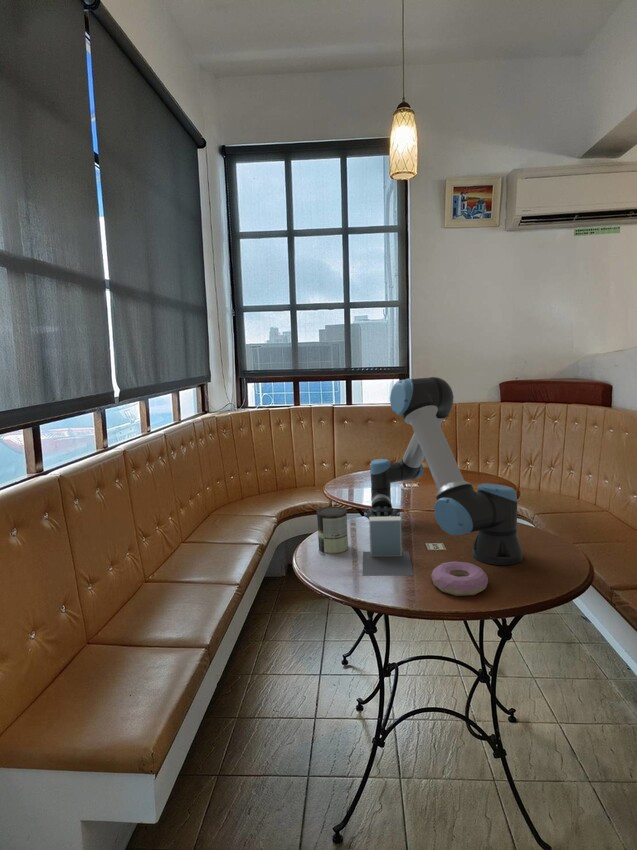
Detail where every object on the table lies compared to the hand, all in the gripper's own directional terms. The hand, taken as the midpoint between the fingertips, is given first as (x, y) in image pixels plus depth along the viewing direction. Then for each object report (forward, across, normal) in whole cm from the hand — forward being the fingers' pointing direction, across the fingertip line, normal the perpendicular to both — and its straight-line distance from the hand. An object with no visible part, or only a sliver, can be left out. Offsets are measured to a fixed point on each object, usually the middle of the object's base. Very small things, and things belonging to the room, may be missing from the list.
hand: (383, 527), depth 164 cm
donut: (+21, -21, -10) cm, 31 cm away
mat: (+7, -1, -10) cm, 12 cm away
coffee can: (-6, +17, -10) cm, 21 cm away
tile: (0, -1, -9) cm, 9 cm away
